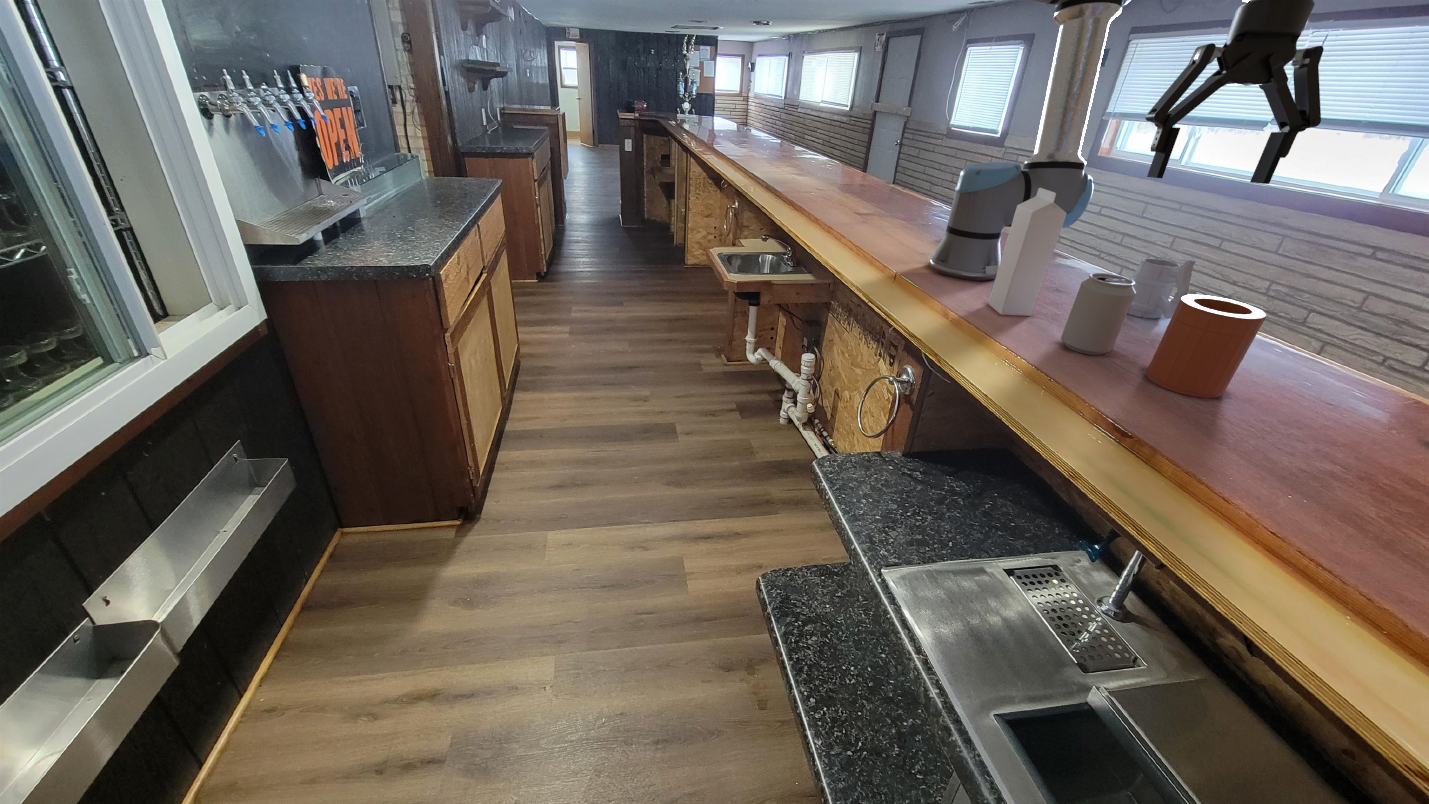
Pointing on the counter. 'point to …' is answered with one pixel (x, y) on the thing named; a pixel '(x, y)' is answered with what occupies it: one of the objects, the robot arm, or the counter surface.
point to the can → (1098, 313)
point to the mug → (1159, 287)
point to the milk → (1027, 254)
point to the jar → (1204, 345)
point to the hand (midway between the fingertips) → (1206, 180)
